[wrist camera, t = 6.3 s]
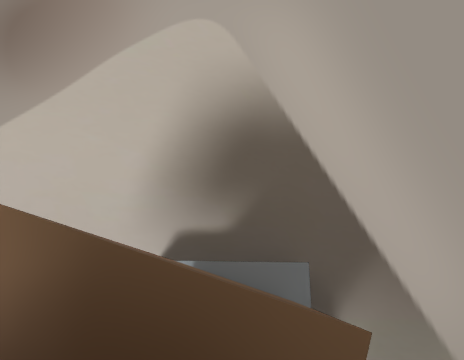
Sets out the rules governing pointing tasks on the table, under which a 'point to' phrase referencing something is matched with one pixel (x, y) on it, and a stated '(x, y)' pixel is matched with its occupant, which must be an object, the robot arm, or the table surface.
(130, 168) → the table surface
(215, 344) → the walnut pillar
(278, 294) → the slate block
